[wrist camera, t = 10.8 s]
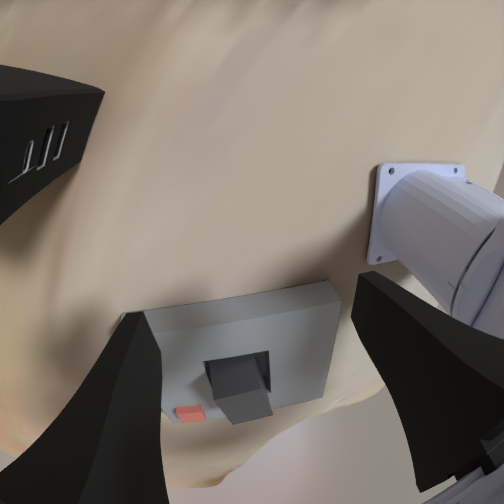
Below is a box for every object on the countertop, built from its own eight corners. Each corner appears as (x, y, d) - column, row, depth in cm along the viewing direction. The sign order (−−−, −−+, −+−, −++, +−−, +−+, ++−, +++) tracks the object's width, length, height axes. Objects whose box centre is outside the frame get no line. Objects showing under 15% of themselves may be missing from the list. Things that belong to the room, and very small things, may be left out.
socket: (329, 279, 22) (346, 307, 19) (315, 379, 29) (324, 403, 26) (122, 313, 20) (115, 345, 17) (171, 403, 27) (172, 429, 24)
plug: (248, 337, 23) (260, 388, 18) (261, 369, 25) (273, 414, 21) (207, 348, 23) (213, 400, 18) (225, 379, 25) (232, 424, 21)
